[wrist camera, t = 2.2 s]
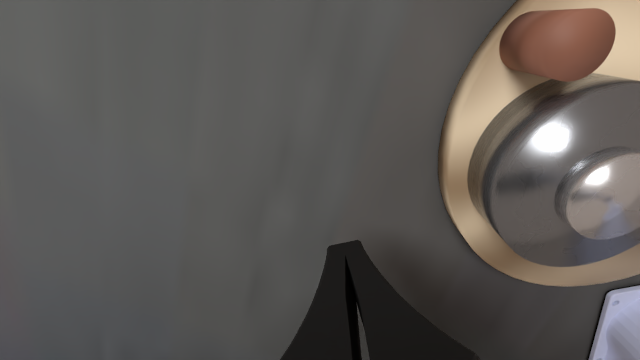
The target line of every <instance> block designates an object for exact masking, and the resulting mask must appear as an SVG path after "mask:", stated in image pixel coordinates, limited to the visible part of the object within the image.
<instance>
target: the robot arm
mask: <svg viewBox="0 0 640 360" xmlns="http://www.w3.org/2000/svg"><path fill="white" fill-rule="evenodd" d="M356 302H357V304H356ZM357 305H358V309H359V312H360V316H361V319H362V322H363V326H364V329H365V334H366V340H367V345H368V351H369V356H370V360H480V358H479V357H478V356H477V355H476V354H475V353H474V352H473V351H471V350H469V349H468V348H466V347H465V346H463V345H461V344H460V343H458V342H457V341H455V340H454V339H452V338H451V337H449V336H448V335H447V334H445V333H444V332H442V331H441V330H440V329H438V328H437V327H436V326H434V325H433V324H432V323H431V322H429V321H428V320H427V319H426V318H424V317H423V316H422V315H421V314H419V313H418V312H417V311H416V310H415V309H414V308H413V307H412V306H411V305H409V304H408V303H407V302H406V301H405V300H404V299H403V298H402V297H401V296H400V295H399V294H398V293H397V292H396V291H395V290H394V289H393V287H392V286H391V285H390V284H389V283H388V282H387V281H386V279H385V278H384V277H383V276H382V275H381V273H380V272H379V271H378V269H377V268H376V267H375V265H374V264H373V263H372V261H371V260H370V258H369V257H368V255H367V253H366V252H365V250H364V248H363V246H362V244H361V242H360V241H359V240H355V241H350V242H346V243H341V244H336V245H331V246H329V247H328V248H327V256H326V261H325V265H324V269H323V273H322V276H321V279H320V283H319V286H318V288H317V291H316V294H315V296H314V299H313V301H312V304H311V306H310V308H309V311H308V313H307V315H306V317H305V319H304V321H303V323H302V325H301V327H300V328H299V330H298V332H297V334H296V336H295V337H294V339H293V341H292V342H291V344H290V346H289V347H288V349H287V350H286V352H285V353H284V355H283V356H282V358H281V359H280V360H362V357H361V348H360V337H359V326H358V315H357ZM589 360H640V285H639V286H633V287H628V288H622V289H617V290H612V291H610V292H608V293H607V295H606V298H605V302H604V305H603V309H602V313H601V316H600V320H599V324H598V327H597V331H596V334H595V338H594V342H593V345H592V349H591V353H590V356H589Z"/></svg>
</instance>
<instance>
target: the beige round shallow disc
mask: <svg viewBox="0 0 640 360" xmlns="http://www.w3.org/2000/svg"><path fill="white" fill-rule="evenodd" d="M591 73H596V74H604V75H609V76H615V77H621V78H626V79H632V80H638V81H640V0H517V1H516V2H515V3H514V4H513V5H512V6H511V7H510V9H509V10H508V11H507V12H506V13H505V14H504V15H503V17H502V18H501V19H500V20H499V21H498V22H497V23H496V25H495V26H494V27H493V28H492V30H491V31H490V32H489V34H488V35H487V37H486V38H485V39H484V41H483V42H482V44H481V45H480V47H479V48H478V49H477V51H476V52H475V54H474V55H473V57H472V59H471V61H470V62H469V64H468V66H467V68H466V70H465V71H464V73H463V75H462V77H461V78H460V80H459V83H458V85H457V88H456V90H455V92H454V95H453V97H452V99H451V102H450V104H449V107H448V110H447V114H446V117H445V121H444V124H443V127H442V133H441V139H440V145H439V152H438V175H439V183H440V191H441V194H442V197H443V201H444V204H445V207H446V210H447V212H448V214H449V216H450V218H451V220H452V222H453V223H454V225H455V226H456V227H457V229H458V230H459V232H460V233H461V234H462V236H463V237H464V238H465V240H466V241H467V242H468V244H469V245H470V247H471V248H472V249H473V251H475V252H476V253H477V254H478V255H479V256H480V257H481V258H482V259H483V260H484V261H485V262H487V263H488V264H489V265H491V266H492V267H494V268H495V269H497V270H498V271H501V272H503V273H505V274H507V275H509V276H511V277H513V278H517V279H520V280H523V281H526V282H530V283H536V284H542V285H548V286H586V285H593V284H600V283H606V282H611V281H615V280H620V279H624V278H628V277H631V276H634V275H637V274H640V243H639V244H637V245H636V246H634V247H632V248H630V249H628V250H626V251H624V252H622V253H620V254H618V255H615V256H613V257H610V258H608V259H605V260H601V261H598V262H595V263H590V264H586V265H580V266H573V267H550V266H545V265H539V264H536V263H533V262H530V261H528V260H526V259H524V258H522V257H521V256H519V255H518V254H516V253H515V252H514V251H513V250H512V249H511V248H510V247H509V246H508V245H507V244H506V243H505V241H504V240H503V239H502V238H501V237H500V236H499V235H498V234H497V233H496V231H495V230H494V229H493V228H492V227H491V226H490V225H489V224H488V223H487V221H486V220H485V219H484V218H483V217H482V216H481V215H480V214H479V213H478V211H477V210H476V208H475V207H474V205H473V203H472V201H471V199H470V195H469V191H468V183H467V176H468V167H469V163H470V159H471V156H472V153H473V150H474V148H475V146H476V144H477V142H478V140H479V138H480V136H481V135H482V133H483V132H484V130H485V129H486V127H487V126H488V125H489V123H490V122H491V121H492V120H493V118H494V117H495V116H496V115H497V114H498V113H499V112H500V111H501V110H502V109H503V108H504V107H505V106H507V105H508V104H509V103H510V102H511V101H513V100H514V99H515V98H517V97H518V96H519V95H521V94H522V93H524V92H525V91H527V90H529V89H531V88H533V87H534V86H536V85H538V84H540V83H543V82H545V81H548V80H550V79H555V80H559V81H565V82H571V81H576V80H580V79H582V78H584V77H586V76H588V75H590V74H591Z"/></svg>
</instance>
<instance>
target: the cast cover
mask: <svg viewBox="0 0 640 360" xmlns="http://www.w3.org/2000/svg"><path fill="white" fill-rule="evenodd" d="M467 183H468V191H469V195H470V199H471V201H472V203H473V205H474V207H475V208H476V210H477V211H478V213H479V214H480V215H481V216H482V217H483V218H484V219H485V220H486V221H487V223H488V224H489V225H490V226H491V227H492V228H493V229H494V230H495V231H496V233H497V234H498V235H499V236H500V237H501V238H502V239H503V240H504V241H505V243H506V244H507V245H508V246H509V247H510V248H511V249H512V250H513V251H514V252H515V253H516V254H518V255H519V256H521V257H522V258H524V259H526V260H528V261H530V262H533V263H536V264H539V265H545V266H550V267H573V266H580V265H586V264H590V263H595V262H598V261H601V260H605V259H608V258H610V257H613V256H615V255H618V254H620V253H622V252H624V251H626V250H628V249H630V248H632V247H634V246H636V245H637V244H639V243H640V81H638V80H632V79H626V78H621V77H615V76H609V75H604V74H596V73H591V74H590V75H588V76H586V77H584V78H582V79H580V80H576V81H571V82H565V81H559V80H555V79H550V80H548V81H545V82H543V83H540V84H538V85H536V86H534V87H533V88H531V89H529V90H527V91H525V92H524V93H522V94H521V95H519V96H518V97H517V98H515V99H514V100H513V101H511V102H510V103H509V104H508V105H507V106H505V107H504V108H503V109H502V110H501V111H500V112H499V113H498V114H497V115H496V116H495V117H494V118H493V120H492V121H491V122H490V123H489V125H488V126H487V127H486V129H485V130H484V132H483V133H482V135H481V136H480V138H479V140H478V142H477V144H476V146H475V148H474V150H473V153H472V156H471V159H470V163H469V167H468V176H467Z"/></svg>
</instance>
